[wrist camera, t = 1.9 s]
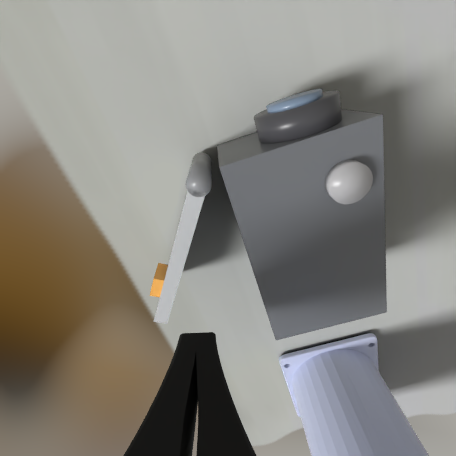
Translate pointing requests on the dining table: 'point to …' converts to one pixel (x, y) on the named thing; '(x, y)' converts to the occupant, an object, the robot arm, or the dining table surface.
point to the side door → (182, 236)
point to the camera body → (311, 210)
